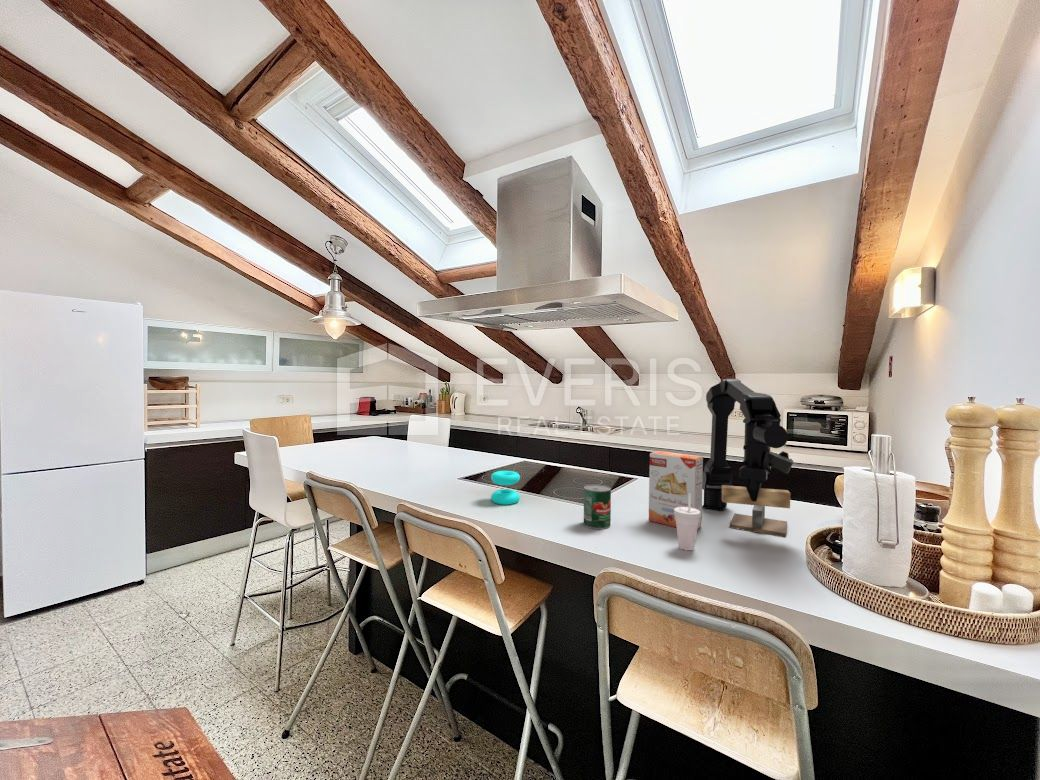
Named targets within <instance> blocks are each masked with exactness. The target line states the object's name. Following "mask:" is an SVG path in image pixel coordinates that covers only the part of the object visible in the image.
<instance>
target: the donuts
mask: <svg viewBox="0 0 1040 780" xmlns="http://www.w3.org/2000/svg"><path fill="white" fill-rule="evenodd" d="M490 478H491V482H493V483H494V484H496V485H499V486H500V485H501V486H511V485H514V484H516V483H518V482H519V481H520V479H521V475H520V474H519V473H518V472H516V471H513V470H498V471H494V472H493V473H491V476H490ZM520 498H521V496H520V494H519V493H518V492H517V491H516V490H513V489H498V490H495V491H494V492H493V493H491V496H490V499H491V501H492V502H493V503H494V504H497V505H503V506H505V505H507V506H509V505H514V504H516V503H518V502H519V501H520Z"/></svg>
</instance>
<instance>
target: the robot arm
mask: <svg viewBox="0 0 1040 780" xmlns="http://www.w3.org/2000/svg"><path fill="white" fill-rule="evenodd" d="M705 400H706V403H707V409H708V410H709V412H710V414H711V417H712V418H711V437H710V438H711V439H710V454H709V455H710V457H709V460H707V461H706V463H705V464H704V467H703V469H704V470H703V484H702V491H703V504H702V509H707V510H708V509H710V510H716V511H723V512H724V511H725V510H726V508H727V506H728V503H725V502H722V485H727V486H733V485H732V484H733V474H732V472H733V471H732V468H731V467H730V466H729V465H730V464H729V463H728V462H727V448H728V447H727V446H728V428H729V426H728V425H729V417H730V415H731V414H732V413H733V411H734V410H735V404H736V403H739V410H740V412H741V413H742V414H743V417H744V419H742V422H743V423H744V442H743V443H744V444H743V461H742V466H741V467H740V468H739V469H738V478H739V479H741V480H742V482H743V484H744V487H746V488H747V491H748V493H749V496H750V498H751V500H752V501H754V502H756V501H757V497H758V493H759V489H760V488H762V487H761V486H762V483H764V482H765V481H768V475H769V474H770V471H768V470H771V469H772V468H774V469H776V470H779V471H780V472H781V473H784V474H786V475H787V474H789V472H790V470H791V468H792V466H793V465H794V460H793V459H792V458H789V457H790V456H789V453H788V452H786V451H784V450H782V451H781V452H779V453H777V452H774V451H771V449H779V448H782V447H784V446H785V445H786V444H787V442H788V439H789V434H788V431H787V430H786V428H784V426H781V421H782V419H781V417H782V415H781V413H780V411H779V409H778V407H777V404H776V401H775V400H774V398H773V397H772V396H771V395H770V394H766V393H761V392H756V391H754V390H752V389H751V388H749V387H748V386H747V385H745V384H744V383H742V381H741V380H740V379H738V378H724V379H721V380H720V382H718V383H717V384H715V385H713V386H711V387H710V388H709V389H708V391H707V392H706V394H705ZM766 468H767V469H766Z"/></svg>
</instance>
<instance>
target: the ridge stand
mask: <svg viewBox="0 0 1040 780" xmlns="http://www.w3.org/2000/svg"><path fill="white" fill-rule="evenodd" d="M765 509H766V506H758V505H753V508H752V512H751V513H752V515H748V514H741V513H734V514H733V516H732V518H731V520H730V522H729V523H728V524H729V525H728V526H729V528H730V527H733V528H732V529H736V528H739V529H738V530H742V529H744V530H743V531H747V530H749V531H748V532H753V531H756V532H755V533H759V532H761V533H760V534H765V533H766V534H765V535H771V534H772V535H771V536H776V535H777V537H783V538H786V536H787V528H788V521H787V520H781V519H780V520H779V519H774V518H768V517H765V515H766V514H765V513H766V511H765Z"/></svg>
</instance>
